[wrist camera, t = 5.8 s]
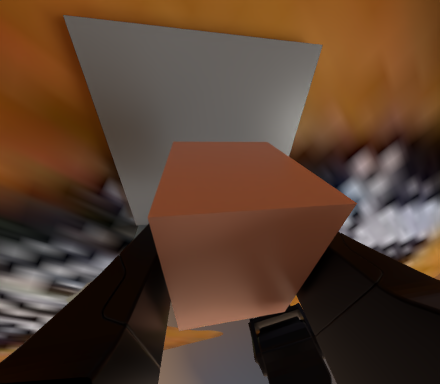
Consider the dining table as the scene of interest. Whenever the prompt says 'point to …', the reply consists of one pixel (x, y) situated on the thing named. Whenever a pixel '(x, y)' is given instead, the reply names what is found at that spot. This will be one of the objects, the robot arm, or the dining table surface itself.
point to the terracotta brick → (239, 229)
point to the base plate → (187, 93)
